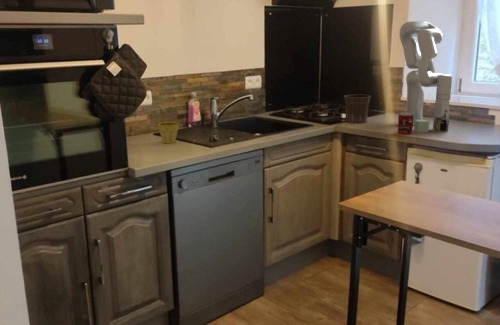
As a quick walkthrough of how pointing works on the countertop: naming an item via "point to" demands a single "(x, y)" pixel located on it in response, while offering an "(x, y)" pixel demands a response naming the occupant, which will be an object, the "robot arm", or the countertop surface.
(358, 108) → the plant pot
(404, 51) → the robot arm
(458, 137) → the countertop surface
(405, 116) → the canned food
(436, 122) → the cube walnut
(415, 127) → the cube sage
